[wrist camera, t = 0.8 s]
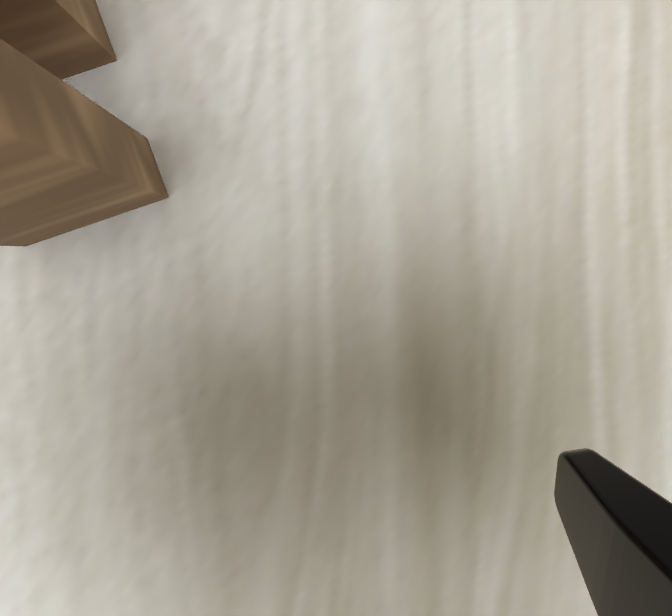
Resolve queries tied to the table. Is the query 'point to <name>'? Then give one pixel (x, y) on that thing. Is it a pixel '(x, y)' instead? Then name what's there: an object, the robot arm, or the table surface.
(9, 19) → the walnut domino
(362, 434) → the table surface
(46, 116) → the walnut domino
